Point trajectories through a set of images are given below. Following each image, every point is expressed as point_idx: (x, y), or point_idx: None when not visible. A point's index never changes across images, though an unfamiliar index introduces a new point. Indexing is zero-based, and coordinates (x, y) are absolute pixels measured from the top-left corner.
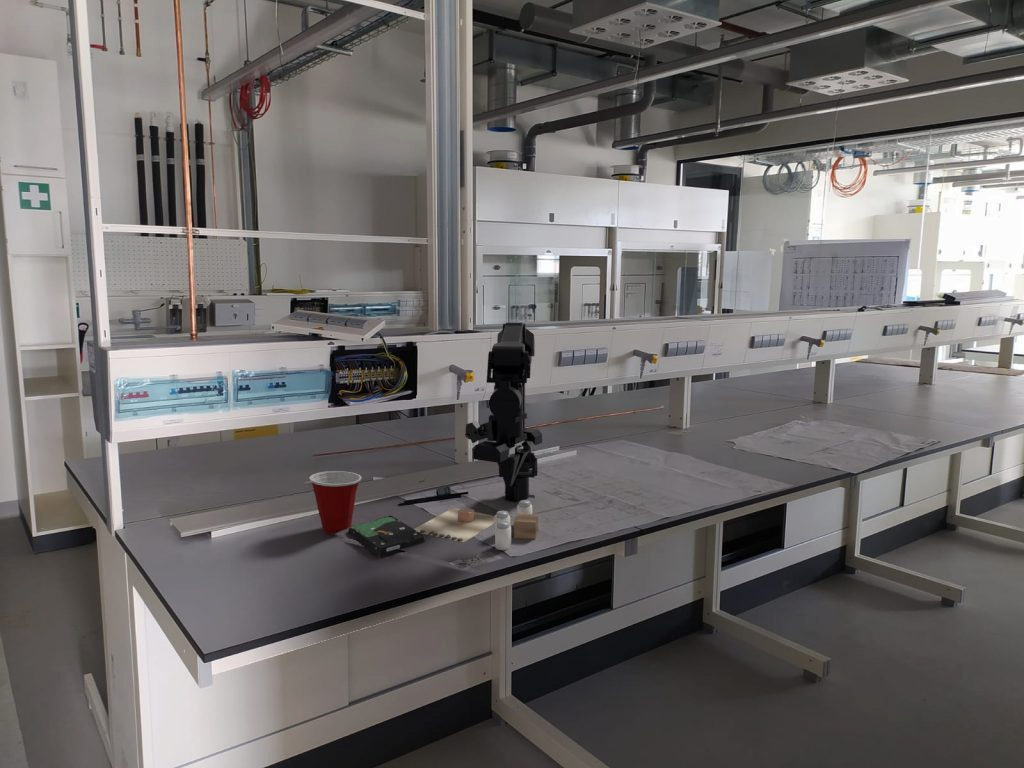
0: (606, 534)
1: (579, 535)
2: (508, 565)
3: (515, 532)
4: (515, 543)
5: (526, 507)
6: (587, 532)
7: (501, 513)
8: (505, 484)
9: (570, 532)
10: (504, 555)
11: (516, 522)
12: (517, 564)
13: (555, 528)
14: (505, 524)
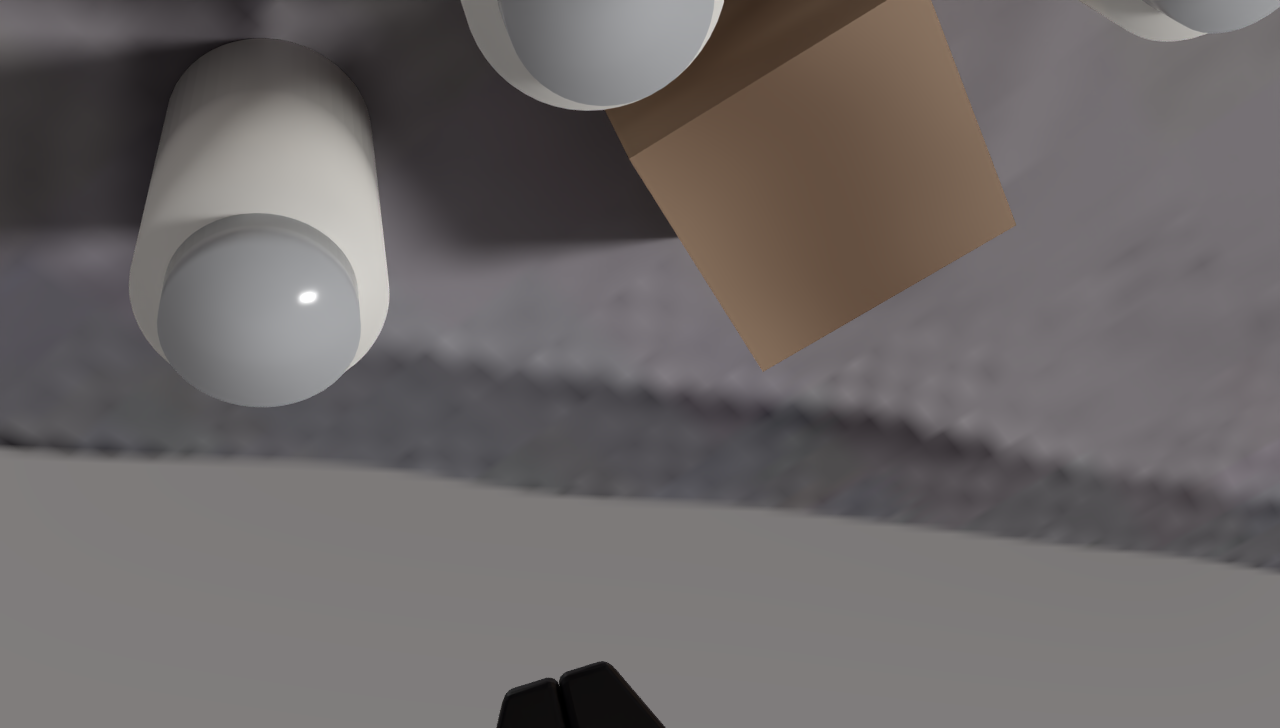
0: (1157, 498)
1: (1053, 387)
2: (45, 421)
3: None
4: None
5: (1134, 4)
6: (1143, 388)
7: (569, 22)
8: (501, 722)
9: (1088, 296)
10: None
11: (642, 179)
12: (141, 456)
13: (1130, 133)
14: (244, 392)
